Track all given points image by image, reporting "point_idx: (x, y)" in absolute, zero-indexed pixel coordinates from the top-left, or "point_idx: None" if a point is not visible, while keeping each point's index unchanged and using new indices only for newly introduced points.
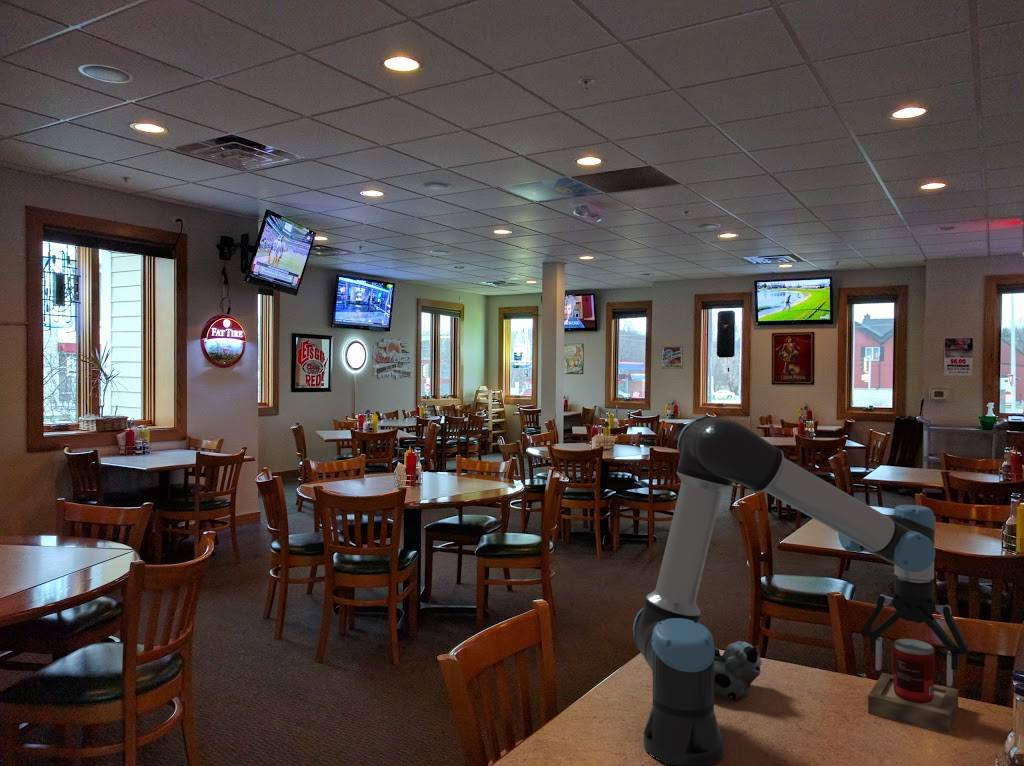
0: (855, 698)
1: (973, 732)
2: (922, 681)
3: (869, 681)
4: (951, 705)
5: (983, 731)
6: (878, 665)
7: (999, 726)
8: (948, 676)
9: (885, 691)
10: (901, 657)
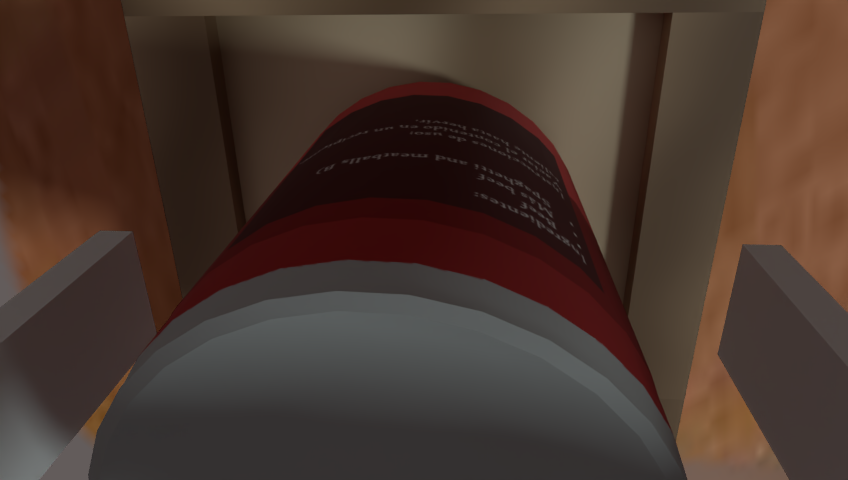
0: (813, 143)
1: (79, 60)
2: (309, 157)
3: (722, 438)
4: (156, 143)
5: (46, 113)
6: (773, 269)
7: (16, 235)
8: (63, 273)
9: (632, 175)
10: (531, 243)
